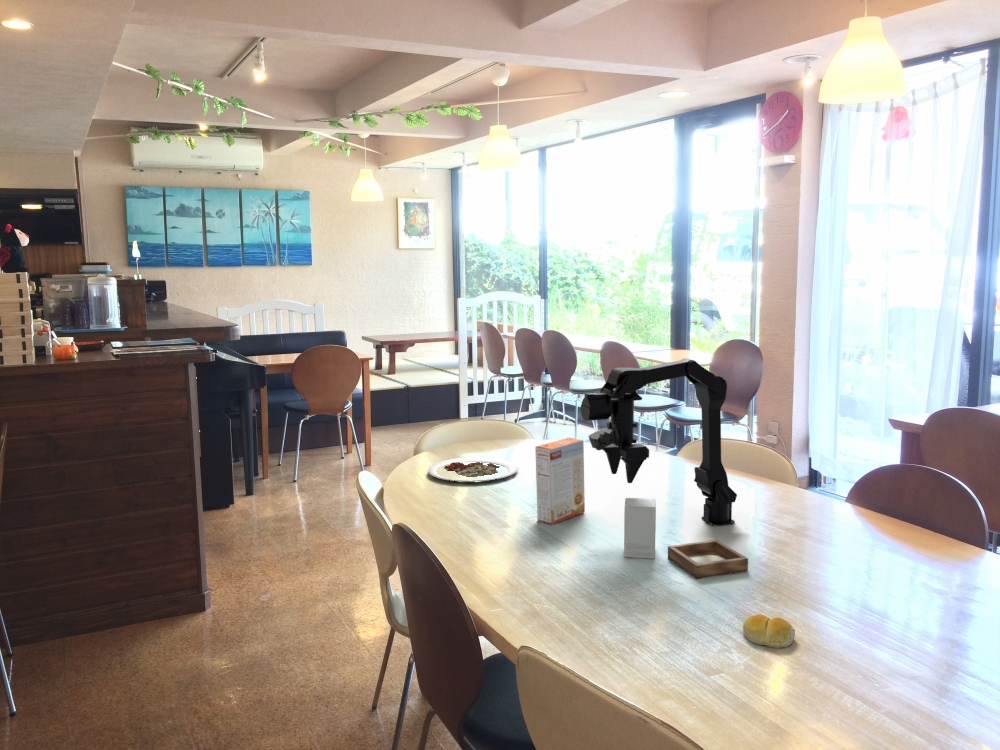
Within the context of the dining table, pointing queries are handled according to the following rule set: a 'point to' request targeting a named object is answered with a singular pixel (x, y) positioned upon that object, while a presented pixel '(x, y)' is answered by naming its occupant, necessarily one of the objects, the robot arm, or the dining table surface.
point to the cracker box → (560, 480)
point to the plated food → (474, 467)
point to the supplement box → (639, 528)
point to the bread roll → (768, 631)
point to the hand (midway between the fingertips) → (621, 478)
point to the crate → (707, 559)
